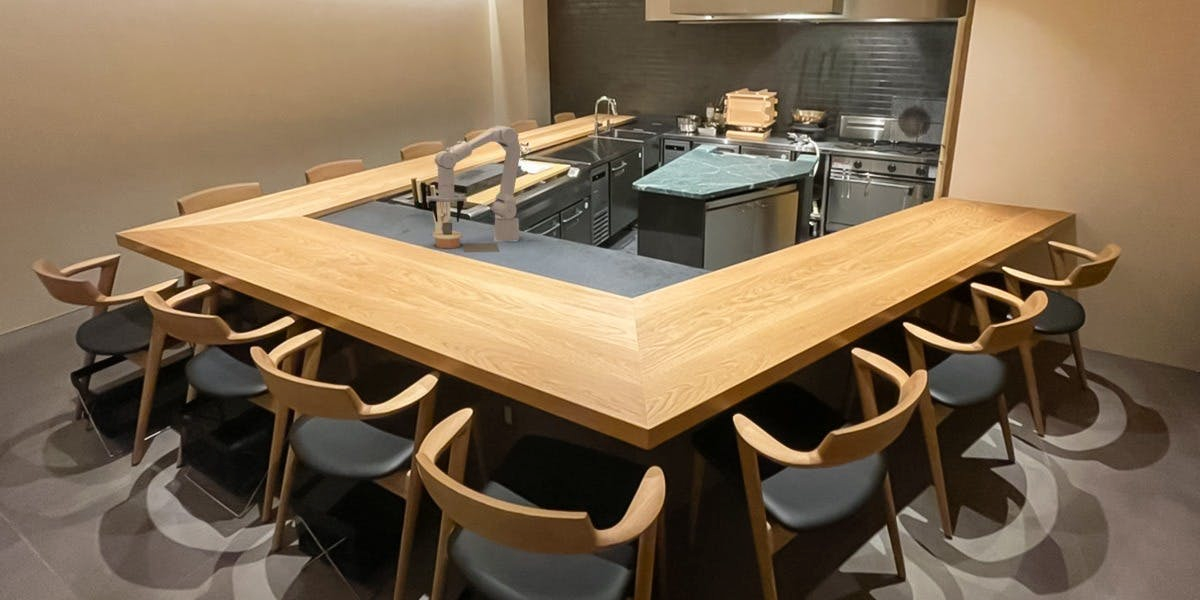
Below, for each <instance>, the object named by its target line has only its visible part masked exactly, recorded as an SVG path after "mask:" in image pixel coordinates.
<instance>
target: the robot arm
mask: <svg viewBox="0 0 1200 600" xmlns="http://www.w3.org/2000/svg"><path fill="white" fill-rule="evenodd" d="M519 141H520V140H519V134H518V132H517V131H516V130H515V129H514V127H511V126H505V125H504V126H503V125H500V124H497V125H494V126H493V127H490V128H488V129H487V130H486V131H483V132H482V133H481V134H478V135H477V136H475V137H474V138H473V139H471V140H468V141H464V140H463V141H461V140H459V141H457V142H456V144H455V145H453V146H451V147H447V148H445V150H442V151H439V152H438V153H437V154H436V155H435V158H434V163H435V164H436V166H437V185H438V186H437V189H438V191H437V192H438V195H429V196H428V195H427V196H426V197H425V198H426V199H425V201H426V203H429V206H430V208H431V210H432V214H433V213H434V216H435V220H436V222H438V217H437V202H450V203H456V222H457V223H458V222H460V216H461V212H462V210H463V207H464V205H465V203H467V202H468V201H467V199H468V198H467V197H468V196H464V195H462V196H461V195H455V171H454V168H455V166H456V165H457V164H458V163H459V162H461V161H463V160H464V159H466V158H468V157H470V156H471V155H472V153H473V151H474V150H476V149H479V148H480V147H482V146H484V145H486V144H489V143H490V142H492V143H493V142H494V143H497V144H499V145H500V147H502V149H503V150H504V151H505V156H504V161H503V163H504V164H503V169H502V174H501V181H500V185H499V192H498V193H496V194H497V195H496V196H495V199H494V201H493V203H492V206H491V210H492V212H493V214H494V236H493V237H494V238H493V241H494V243H504V242H503V241H511V240H512V241H513V240H519V241H520V220H519V217H518V218H516V217H515V216H516V214H517V210H518V209H517V206H516V203H517V201H516V197H515V195H514V193H515V188H516V187H515V186H516V181H517V174H518V170H519V169H518V168H519V164H520V163H519V162H520V158H521V149H522V148H521V145H520V142H519Z"/></svg>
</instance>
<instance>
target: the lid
mask: <svg viewBox="0 0 1200 600" xmlns="http://www.w3.org/2000/svg"><path fill="white" fill-rule="evenodd" d="M431 235H432V238H435V239H436V238H437V239H457V238H460V239H461V238H463V233H462V232H460V231H457V230H453V223H452V222H450V221H449V222H446V223H442V231H438V232H435V231H434V232H433V233H432V234H431Z"/></svg>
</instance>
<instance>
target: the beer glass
mask: <svg viewBox="0 0 1200 600" xmlns="http://www.w3.org/2000/svg"><path fill="white" fill-rule="evenodd" d="M432 216H433V217H432V218H433V222H434V226H435V228H434V229H435V230H434V232H438V231H442V223H446V222H449V223H450V219H451V202H437V217H438V222H436V220H435V216H434V213H433V212H432Z"/></svg>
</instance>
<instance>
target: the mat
mask: <svg viewBox="0 0 1200 600" xmlns="http://www.w3.org/2000/svg"><path fill="white" fill-rule="evenodd" d="M462 250H463V251H462V252H463V253H492V252H493V253H497V252H498V253H499V252H500V249H499V246H498V242H493V243H492V242H489V243H487V242H486V243H485V242H484V243H483V242H479V243H477V242H476V243H468V242H467V243H462Z"/></svg>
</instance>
